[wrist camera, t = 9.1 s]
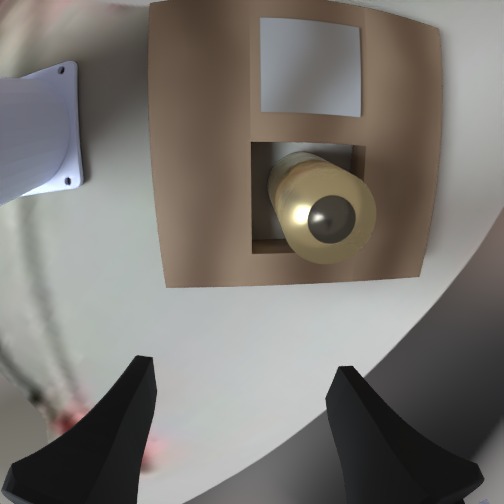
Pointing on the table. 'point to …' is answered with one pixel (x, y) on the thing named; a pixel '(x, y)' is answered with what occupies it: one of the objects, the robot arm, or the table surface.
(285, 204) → the brass bushing
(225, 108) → the jig plate
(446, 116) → the table surface
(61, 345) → the table surface
